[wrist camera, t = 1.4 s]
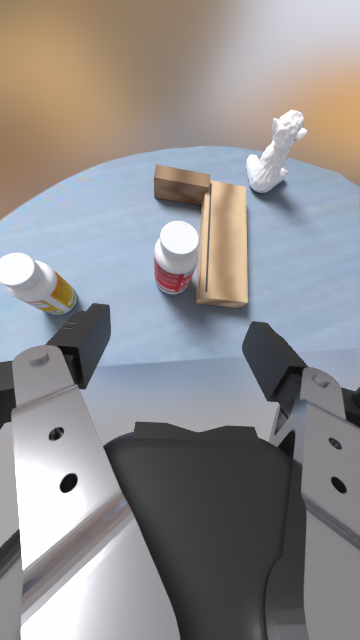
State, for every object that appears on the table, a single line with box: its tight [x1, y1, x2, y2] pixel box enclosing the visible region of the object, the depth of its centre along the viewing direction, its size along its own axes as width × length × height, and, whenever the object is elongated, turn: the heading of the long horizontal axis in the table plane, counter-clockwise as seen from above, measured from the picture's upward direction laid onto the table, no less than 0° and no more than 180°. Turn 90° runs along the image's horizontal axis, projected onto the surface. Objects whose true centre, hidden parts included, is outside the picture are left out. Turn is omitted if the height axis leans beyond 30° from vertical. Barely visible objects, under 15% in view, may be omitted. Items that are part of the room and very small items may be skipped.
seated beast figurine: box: [245, 110, 307, 193], centre depth 35 cm, size 10×9×12 cm
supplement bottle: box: [0, 253, 77, 315], centre depth 24 cm, size 5×5×10 cm
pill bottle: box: [154, 221, 199, 294], centre depth 27 cm, size 6×6×11 cm
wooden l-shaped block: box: [154, 165, 248, 308], centre depth 33 cm, size 18×24×4 cm
